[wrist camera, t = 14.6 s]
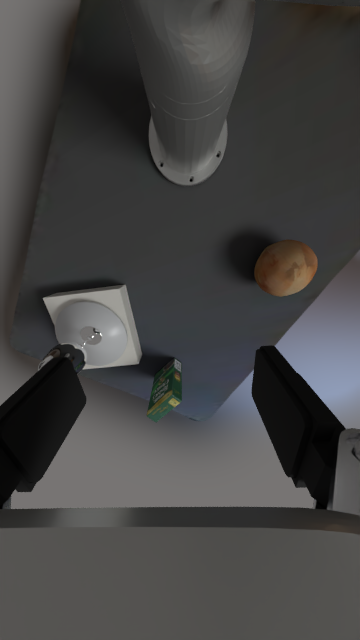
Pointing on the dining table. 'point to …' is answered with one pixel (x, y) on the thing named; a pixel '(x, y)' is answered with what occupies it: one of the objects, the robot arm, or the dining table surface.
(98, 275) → the dining table surface
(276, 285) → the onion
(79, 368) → the wineglass
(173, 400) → the coffee box
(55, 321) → the kitchen scale
